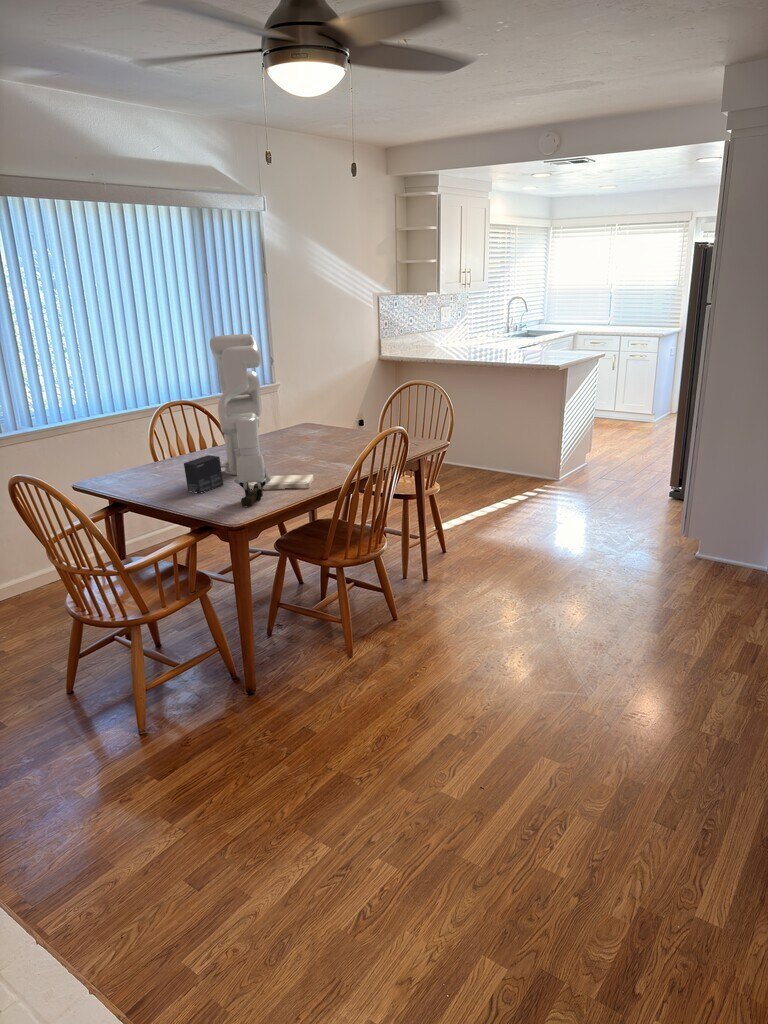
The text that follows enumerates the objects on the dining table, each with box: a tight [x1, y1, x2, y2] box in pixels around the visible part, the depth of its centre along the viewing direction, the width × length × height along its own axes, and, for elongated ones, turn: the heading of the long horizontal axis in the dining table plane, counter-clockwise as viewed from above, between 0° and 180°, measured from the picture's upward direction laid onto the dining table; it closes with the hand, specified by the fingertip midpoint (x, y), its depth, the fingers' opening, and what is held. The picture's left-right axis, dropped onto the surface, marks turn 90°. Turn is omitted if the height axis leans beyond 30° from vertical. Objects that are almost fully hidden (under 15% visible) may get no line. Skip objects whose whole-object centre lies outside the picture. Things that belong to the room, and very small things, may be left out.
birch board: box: [248, 474, 314, 490], centre depth 281 cm, size 24×12×2 cm, turn 88°
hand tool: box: [240, 484, 263, 508], centre depth 264 cm, size 19×4×5 cm, turn 170°
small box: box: [183, 454, 224, 494], centre depth 279 cm, size 13×7×12 cm, turn 147°
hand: (254, 498), depth 264 cm, fingers closed on hand tool, 3 cm apart
